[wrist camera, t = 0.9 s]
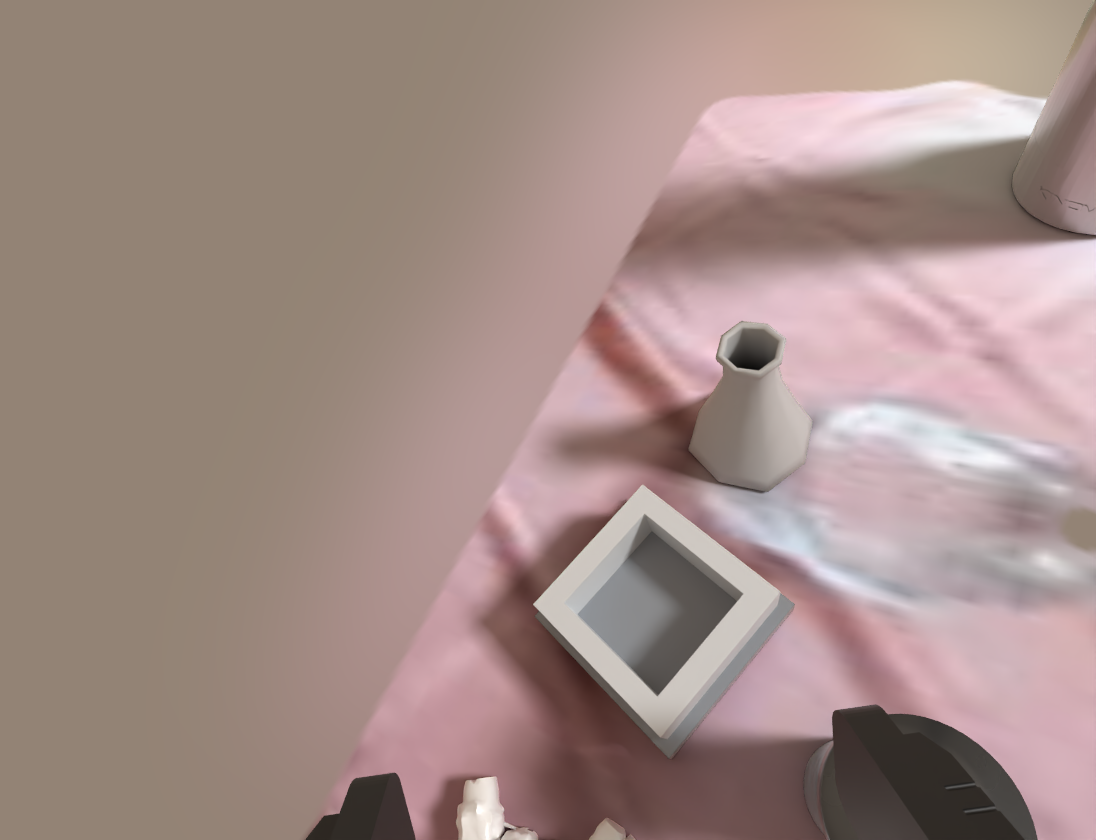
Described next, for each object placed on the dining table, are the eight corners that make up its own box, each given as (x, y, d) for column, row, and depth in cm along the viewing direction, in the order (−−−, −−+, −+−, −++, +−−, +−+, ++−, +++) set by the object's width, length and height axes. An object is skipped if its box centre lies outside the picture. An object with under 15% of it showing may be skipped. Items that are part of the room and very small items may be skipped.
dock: (652, 499, 38) (641, 470, 34) (792, 610, 32) (799, 591, 29) (541, 621, 36) (517, 605, 32) (671, 758, 31) (661, 758, 27)
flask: (668, 456, 39) (647, 373, 30) (727, 372, 40) (723, 271, 32) (774, 513, 35) (783, 437, 27) (833, 419, 37) (860, 319, 28)
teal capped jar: (840, 702, 30) (888, 674, 20) (955, 799, 27) (1081, 824, 17) (769, 793, 29) (783, 813, 19) (881, 904, 26) (968, 997, 16)
